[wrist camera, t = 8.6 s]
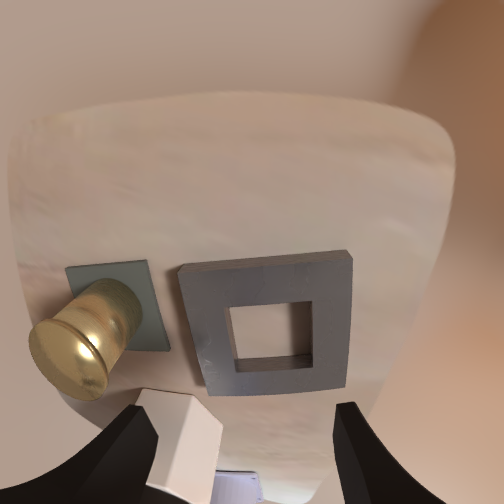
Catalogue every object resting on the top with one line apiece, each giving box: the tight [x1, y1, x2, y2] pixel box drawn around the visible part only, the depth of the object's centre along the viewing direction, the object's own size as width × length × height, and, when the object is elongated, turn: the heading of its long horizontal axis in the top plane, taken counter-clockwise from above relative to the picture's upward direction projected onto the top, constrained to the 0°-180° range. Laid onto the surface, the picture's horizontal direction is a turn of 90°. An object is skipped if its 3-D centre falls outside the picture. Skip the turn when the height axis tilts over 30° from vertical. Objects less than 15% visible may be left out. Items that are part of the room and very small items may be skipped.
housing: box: [177, 250, 353, 396], centre depth 19 cm, size 10×10×2 cm
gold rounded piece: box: [29, 278, 143, 401], centre depth 16 cm, size 5×5×7 cm
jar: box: [135, 388, 223, 504], centre depth 18 cm, size 9×8×12 cm
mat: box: [65, 260, 171, 352], centre depth 19 cm, size 7×7×1 cm
